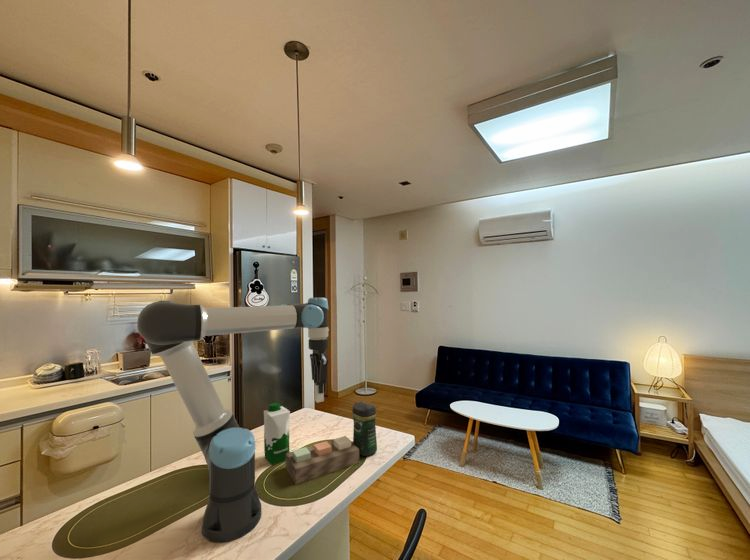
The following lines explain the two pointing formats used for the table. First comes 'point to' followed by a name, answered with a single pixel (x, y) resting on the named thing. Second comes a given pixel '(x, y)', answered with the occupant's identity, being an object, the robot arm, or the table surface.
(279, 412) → the milk carton
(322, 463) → the button console
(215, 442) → the robot arm
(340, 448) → the cream button
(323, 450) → the terracotta button
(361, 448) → the coffee jar
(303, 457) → the sage button
